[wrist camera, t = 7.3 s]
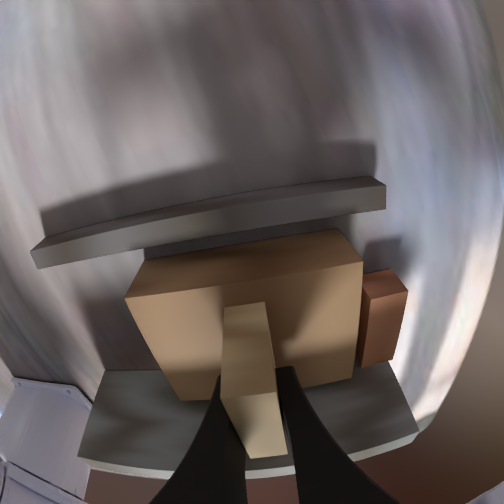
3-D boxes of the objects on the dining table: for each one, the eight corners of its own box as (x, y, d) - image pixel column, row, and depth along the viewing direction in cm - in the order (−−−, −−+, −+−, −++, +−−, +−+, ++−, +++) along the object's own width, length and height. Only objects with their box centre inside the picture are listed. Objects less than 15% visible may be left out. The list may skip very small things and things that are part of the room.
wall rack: (114, 383, 17) (90, 466, 11) (33, 241, 12) (-46, 323, 6) (377, 352, 17) (416, 440, 11) (395, 173, 11) (508, 243, 5)
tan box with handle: (186, 360, 16) (172, 466, 10) (144, 260, 13) (87, 379, 7) (337, 338, 16) (373, 442, 10) (338, 228, 13) (414, 337, 6)
